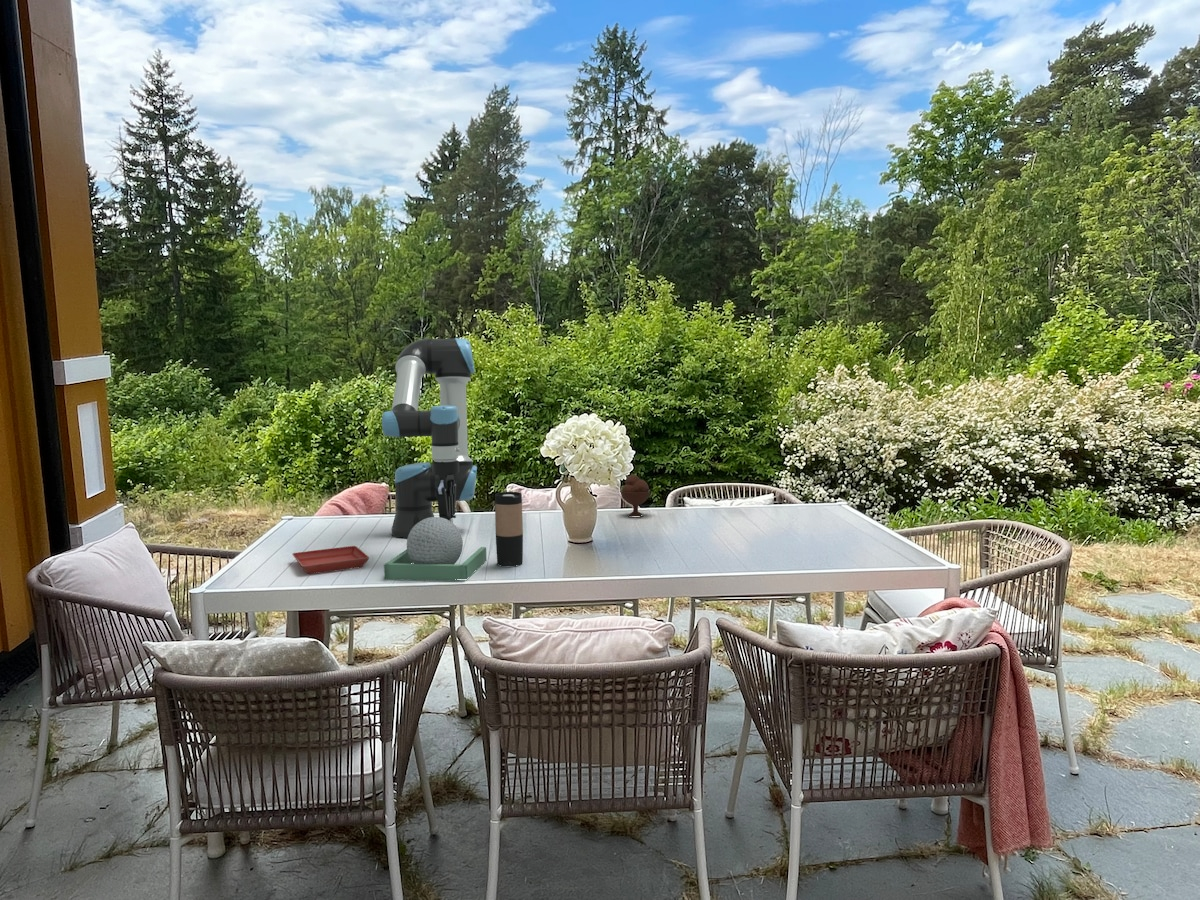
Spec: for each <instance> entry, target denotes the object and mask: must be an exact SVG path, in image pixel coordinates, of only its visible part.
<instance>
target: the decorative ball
mask: <svg viewBox="0 0 1200 900" xmlns="http://www.w3.org/2000/svg"><path fill="white" fill-rule="evenodd" d="M461 533H462V532H461V531H460V530H459V527H457V525H456V524H454V522H453V523H452V522H451V521H449V520H447V519H444V518H441V517H439V516H434V517H430V518H426V519H424V520H422V521H420V522H418V523H417V524H416V525H415V526H414V527H413V528H412V529H411V531H410V533H409V535H408V538H406V549H407V552H408V555H409V557H410V559H411V561H412V562H413V563H412V564H456V563H457V562H458V561H459V559H460V557H461V555H462V551H463V546H464V545H463V543H464V542H463V541H464V540H463V536H462V534H461Z"/></svg>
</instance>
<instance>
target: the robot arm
mask: <svg viewBox="0 0 1200 900" xmlns="http://www.w3.org/2000/svg"><path fill="white" fill-rule="evenodd" d="M473 358H474V357H473V351H472V346H471V342H470V340H468V339H466V338H456V337H453V338H451V337H450V338H420V339H417V340H416V341H412V342H411V343H410V344H408V345H406V346H405V348H403V350H402V351H401V352H400V353H399V355H398V356H397V359H396V361H395V368H394V369H395V372H396V374H397V375H396V381H395V387H394V393H393V399H392V406H391V410H389V411H388V410H387V411H384V412H383V413H382V416H381V426H382V427H381V428H382V429H381V430H382V433H383V435H384V436H385V437H390V438H391V437H392V438H393V437H394V438H395V437H396V438H402V437H403V438H404V437H406V438H408V437H409V438H410V437H431V459H432V460H433V461H432V463H430V462H428V461H427V462H426V461H424V462H417V463H410V464H405V465H402V466H400V467H398V468H397V469H396V470H395V473H394V485H395V486H394V488H395V489H394V490H395V507H396V508H395V515H394V519H393V523H392V526H391V536H392V535H393V537H395V538H400V537H403V538H404V539H408V535H409V533H410V531H411V529H412V528H413V527H414V526H415V525H416V524H417V523H418V522H420V521H422V520H424V519H426V518H430V517H435V514H434V512H433V504H432V503H435V502H437V509H438V517H441V518H444V519H447V520H449V521H451V522H452V523H453V524H454V519H456V518H457V515H455V514H456V504H457V503H456V502H463V501H466V502H467V501H471V500H472V499H473V498H474V497H475V493H476V492H475V491H476V490H475V489H476V484H477V483H476V482H477V472H478V471H477V470H478V466H477V465H473V463H474V462H473V459H472V458H471V457H470V456H469V454H468V453H469V451H468V450H469V449H468V446H469V445H468V413H467V412H468V409H467V408H468V407H467V406H468V405H467V384H468V383H469V382H470V380H471V375H472V374H473V375H474V374H475V373H476V371H475V364H474V359H473ZM425 375H434V378H435V380H436V382H438V384H439V394H440V395H439V397H440V399H439V400H440V405H435V406H431V408H430V410H419V400H420V394H421V393H420V392H421V387H422V386H421V385H422V378H423V377H424V376H425ZM403 538H402V539H403Z"/></svg>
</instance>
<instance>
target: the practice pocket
mask: <svg viewBox="0 0 1200 900" xmlns="http://www.w3.org/2000/svg"><path fill="white" fill-rule="evenodd" d="M485 561H486V562H487V547H486V546H480V547H479V548H478V549H477V550H476V551H475V552H474V553H473V554H472V555H471V556H469V557H468V558H467V559H466V560H465V561H463V562H462V563H461V564H458V563H457V564H456V563H455V564H414V563H412V561H411V559H410V557H409V555H408V552H407V548H406V549H405V550H403V551H402V552H400V553H399V554H397V555H396V556H394V557H393V558H392V559H390V560H389V561H387V562H386V563H384V564H383V572H384V580H394V579H412V580H411V581H440V580H455V579H456V580H457V579H467V578H468V577H469V576H470V575H471V574H472V573H473V572H474V571H475V570H477V568H479V567H480V566H481V565H482V564H483V563H484V562H485ZM486 562H485V563H486ZM411 563H412V564H411ZM485 563H484V564H485ZM484 564H483V565H484ZM483 565H482V566H483ZM482 566H481V567H482ZM481 567H480V568H481ZM480 568H479V569H480ZM477 571H478V570H477ZM474 573H475V572H474ZM474 573H473V574H474ZM473 574H472V575H473ZM472 575H471V576H472ZM471 576H470V577H471ZM470 577H469V578H470ZM469 578H468V579H469ZM468 579H467V580H468Z"/></svg>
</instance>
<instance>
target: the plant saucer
mask: <svg viewBox="0 0 1200 900" xmlns="http://www.w3.org/2000/svg"><path fill="white" fill-rule="evenodd" d="M291 555H292V556H293V557H294V559H295V560H296V561H297V562H298V564H299V565H300V566H301V567H302V569H303V571H305V572H306V573H307V574H308V575H311V574H314V575H315V574H319V573H328V572H335V570H337V571H342V570H343V569H344V570H350V568H352V569H358V567H359V568H362V567H364V565H365V564H366V563H367V562H368V560H369V559H370V557H369V556H368V554H366V553H365V552H364V551H362V550H361V549H360V548H359V547H358V546H357V545H350V546H342V547H341V546H340V547H331V548H325V549H324V548H323V549H317V550H307V551H300V552H293V553H291ZM344 570H343V571H344Z"/></svg>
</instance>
